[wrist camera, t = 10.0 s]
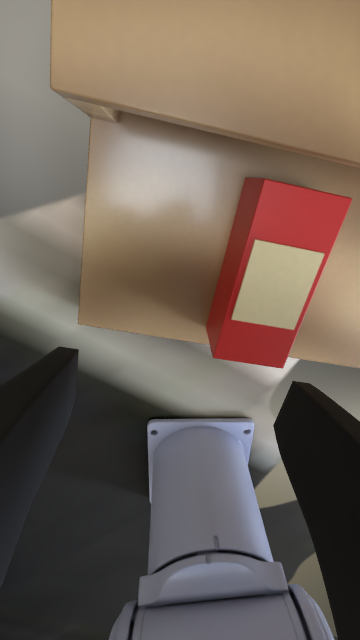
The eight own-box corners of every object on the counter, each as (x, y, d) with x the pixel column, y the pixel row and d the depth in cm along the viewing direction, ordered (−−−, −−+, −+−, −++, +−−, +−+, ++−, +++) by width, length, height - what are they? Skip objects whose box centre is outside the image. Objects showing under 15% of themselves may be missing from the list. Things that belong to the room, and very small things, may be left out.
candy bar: (264, 337, 18) (283, 370, 15) (205, 327, 18) (213, 359, 15) (317, 193, 15) (354, 198, 12) (245, 176, 14) (265, 178, 11)
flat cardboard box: (351, 353, 21) (429, 430, 15) (86, 310, 19) (45, 378, 13) (527, 10, 14) (840, -130, 7) (117, -124, 11) (56, -485, 5)
